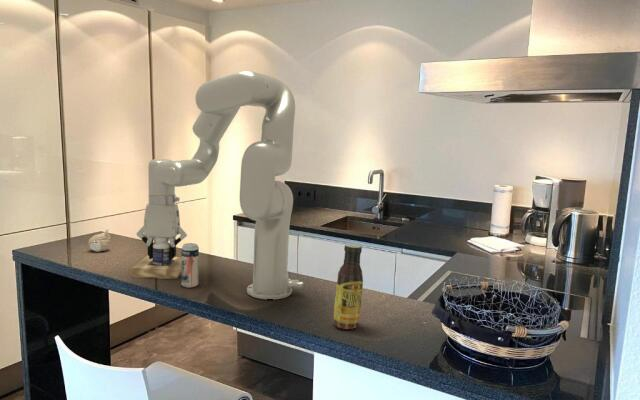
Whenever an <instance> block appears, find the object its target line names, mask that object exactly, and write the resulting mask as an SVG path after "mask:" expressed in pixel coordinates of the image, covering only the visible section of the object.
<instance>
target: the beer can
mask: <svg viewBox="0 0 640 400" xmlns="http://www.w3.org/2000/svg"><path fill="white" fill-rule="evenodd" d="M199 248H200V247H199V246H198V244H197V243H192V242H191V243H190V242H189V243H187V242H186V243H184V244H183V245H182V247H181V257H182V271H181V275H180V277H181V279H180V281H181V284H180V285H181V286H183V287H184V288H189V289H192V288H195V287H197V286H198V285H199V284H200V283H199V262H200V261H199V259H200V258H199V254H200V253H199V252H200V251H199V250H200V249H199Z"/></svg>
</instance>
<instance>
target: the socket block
mask: <svg viewBox="0 0 640 400" xmlns="http://www.w3.org/2000/svg"><path fill="white" fill-rule="evenodd" d="M131 270H132V278H134V279H156V278H157V279H159V280H160V279H161V280H163V279H165V280H178V279H179V278H180V277H181V271H182V256H181V257H180V256H175V257H174V258H173V259H172V260H171V265H170V266H157V265H153V258H152V259H149V256H148V255H146V256H145V257H144V258H143V259H141V260H140V261H139V262H138V263H137V264H135V265H134V266H133V267H132V269H131ZM157 279H156V280H157Z"/></svg>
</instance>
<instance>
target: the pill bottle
mask: <svg viewBox="0 0 640 400" xmlns="http://www.w3.org/2000/svg"><path fill="white" fill-rule="evenodd" d="M154 241H155V242H153V265H157V266H170V265H171V260H170V259H169V248H170V247H171V244H170V241H169V238H159V237H155V238H154Z"/></svg>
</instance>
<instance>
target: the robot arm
mask: <svg viewBox="0 0 640 400" xmlns="http://www.w3.org/2000/svg"><path fill="white" fill-rule="evenodd" d="M194 98H195V99H194V100H195V104H196V106H197V108H198V109H199V111H200V113H199V115H198V117H197V118H196V120H195V122H193V125H192V132H193V134H194V136H196V137H197V138H198V139H199V145H198V148H197V150H196V152H195V154H194V155H193V156H192V158H191V159H184V160H182V159H181V160H171V159H165V158H155V159H151V160H149V162H148V167H147V168H148V172H147V173H148V203H147V204H146V206H145V210H144V218H143V226H142V227H141V228H140V229H139V230H138V231H137V232H136V237H138V238H140V239H141V240H142V242H143V243H145V245H146V246H147V256H149V259H152V258H153V244H154V241H155V237H159V238H169V241H168V242H169V243H170V244H171V247H170V248H169V259H170V260H172V259H173V258H174V257H177V245H178V244H179V243H181V241H183V240H184V239H185V238H187V236H188V234H187V233H186V232H185V230H184V229H183V228H182V227H181V221H180V220H181V217H180V211H179V206H178V204H176V203H177V202H180V197H179V196H177V195H176V194H175V193H176V189H175V188H176V187H178V188H180V187H184V186H185V187H186V186H192V185H193V186H194V185H198V184H201V183H202V182H204V181H205V180H206V179H207V178H208V176H209V175H210V173H211V172H212V170H213V168H214V167H215V166H216V163H217V161H218V158H219V152H220V141H221V140H222V138H223V137H224V135H225V134H226V131H227V130H228V128H229V126H230V125H231V123H232V122H233V120H234V119H235V117H236V116H237V114H238V113H239V110H240V109H241V107H245V106H246V107H247V106H252V107H258V108H259V107H261V108H264V109H265V114H264V115H263V118H262V122H261V123H262V124H261V137H260V140H259V141H256V142H253V143H251V144H250V145H249V146H247V148H246V149H245V150H244V153H243V155H242V159H241V164H240V166H241V167H240V185H239V206H240V210H241V211H242V213H243V215H244V216H246V217H247V218H248V219H249V220H252V221H255V224H254V234H253V235H254V237H253V238H254V239H253V242H254V243H253V269H252V283H251V284H249V285H248V286H247V287H246V293H247V294H248V295H249V296H250V297H253V298H256V299H258V300H259V299H260V300H267V299H273V300H280V299H285V298H288V297H289V296H291V294H292V293H293V289H301V290H303V284H304V282H303V281H299V279H291V278H289V274H288V263H289V262H288V261H289V239H290V226H291V225H290V224H291V215H292V212H293V205H294V195H293V192H292V189H291V188H290V187H289V185H288V184H286V183H285V182H284V181H281V180H276V177H279V176H282V175H286V173H287V172H288V171H290V169H291V166H292V159H293V147H294V146H293V144H294V125H295V115H296V100H295V96H294V94H293V92H292V90H291V89H290V87H289V86H288V85H287V84H285V83H284V82H283V81H282V80H280V79H278V78H277V77H276V78H275V77H274V76H271V75H267V74H264V73H259V72H256V71H255V72H254V71H251V70H250V71H249V70H243V71H238V72H235V73H231V74H227V75H224V76H222V77H218V78H214V79H210V80H208V81H205V82H203V83H202V84H201V85H200V86H199V87H198V89H197V91H196V93H195V97H194ZM177 235H180V236H179V237H178V238H176V237H177Z"/></svg>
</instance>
